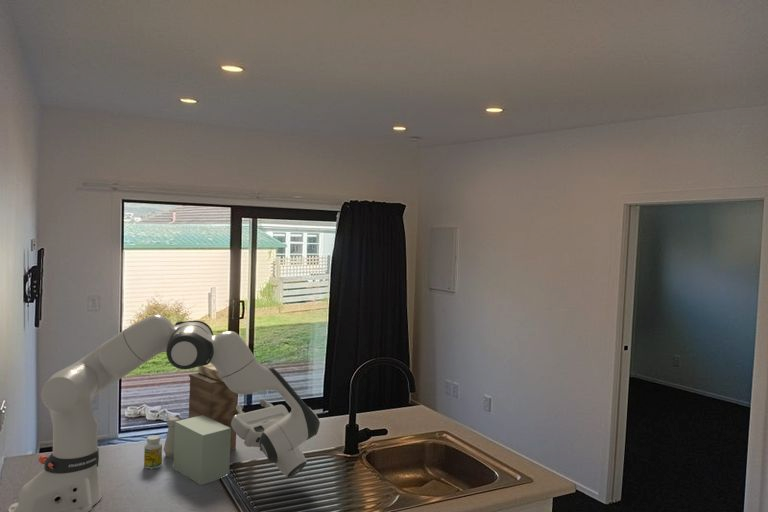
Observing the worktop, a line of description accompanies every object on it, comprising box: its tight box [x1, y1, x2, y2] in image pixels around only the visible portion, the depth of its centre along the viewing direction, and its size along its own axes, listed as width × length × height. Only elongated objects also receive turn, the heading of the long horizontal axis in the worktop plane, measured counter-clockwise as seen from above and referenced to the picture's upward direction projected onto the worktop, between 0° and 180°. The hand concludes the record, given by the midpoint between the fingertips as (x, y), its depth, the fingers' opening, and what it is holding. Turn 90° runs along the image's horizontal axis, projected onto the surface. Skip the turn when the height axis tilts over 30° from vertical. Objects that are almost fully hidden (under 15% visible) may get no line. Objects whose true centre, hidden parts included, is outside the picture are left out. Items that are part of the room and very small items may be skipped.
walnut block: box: [188, 372, 239, 451], centre depth 201 cm, size 12×15×26 cm
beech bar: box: [197, 363, 224, 382], centre depth 198 cm, size 23×4×3 cm, turn 49°
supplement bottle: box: [143, 434, 163, 469], centre depth 183 cm, size 5×5×10 cm
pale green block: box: [172, 415, 231, 486], centre depth 180 cm, size 10×17×16 cm, turn 49°
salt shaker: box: [163, 416, 181, 459], centre depth 192 cm, size 6×6×13 cm
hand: (250, 403), depth 186 cm, fingers open, 8 cm apart
